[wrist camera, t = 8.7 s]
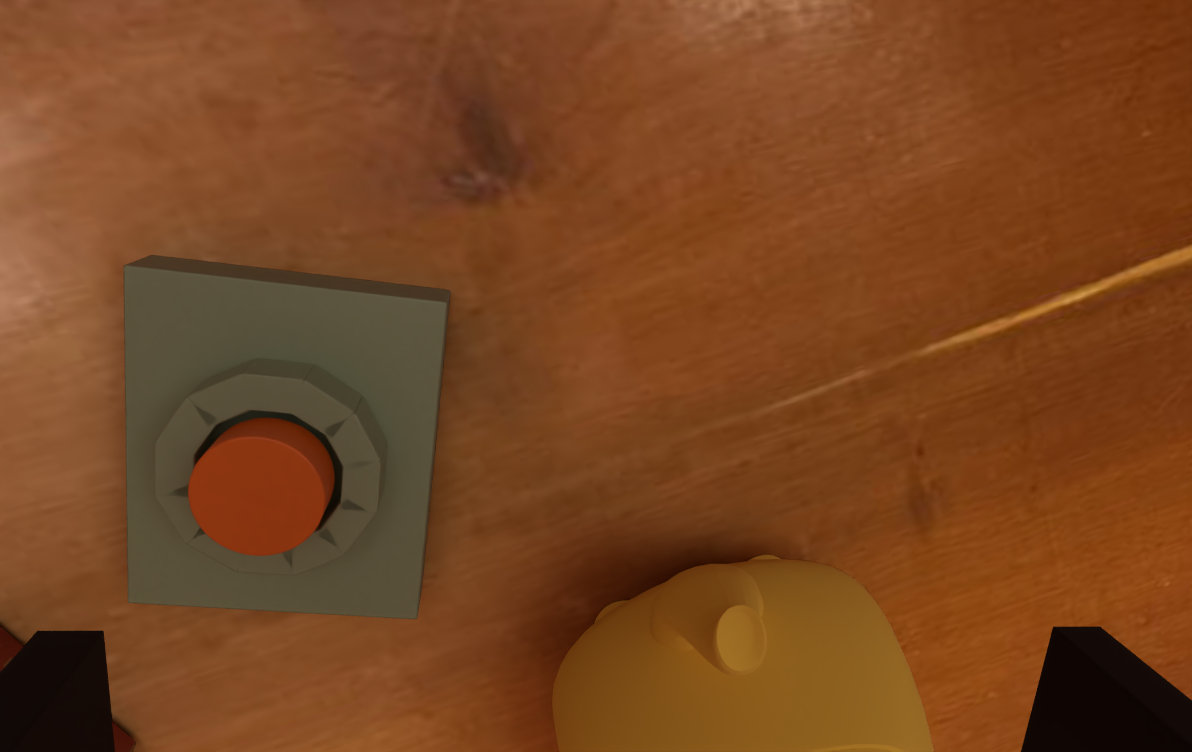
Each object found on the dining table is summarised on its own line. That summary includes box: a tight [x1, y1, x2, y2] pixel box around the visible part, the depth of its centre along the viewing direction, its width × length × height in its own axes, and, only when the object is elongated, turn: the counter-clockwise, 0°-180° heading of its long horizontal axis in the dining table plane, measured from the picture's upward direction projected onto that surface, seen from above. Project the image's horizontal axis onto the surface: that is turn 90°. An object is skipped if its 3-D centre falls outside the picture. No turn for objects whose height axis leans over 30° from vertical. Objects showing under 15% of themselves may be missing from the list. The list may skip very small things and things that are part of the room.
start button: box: [188, 417, 335, 556], centre depth 26 cm, size 4×4×2 cm
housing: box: [124, 255, 450, 619], centre depth 28 cm, size 12×10×4 cm
